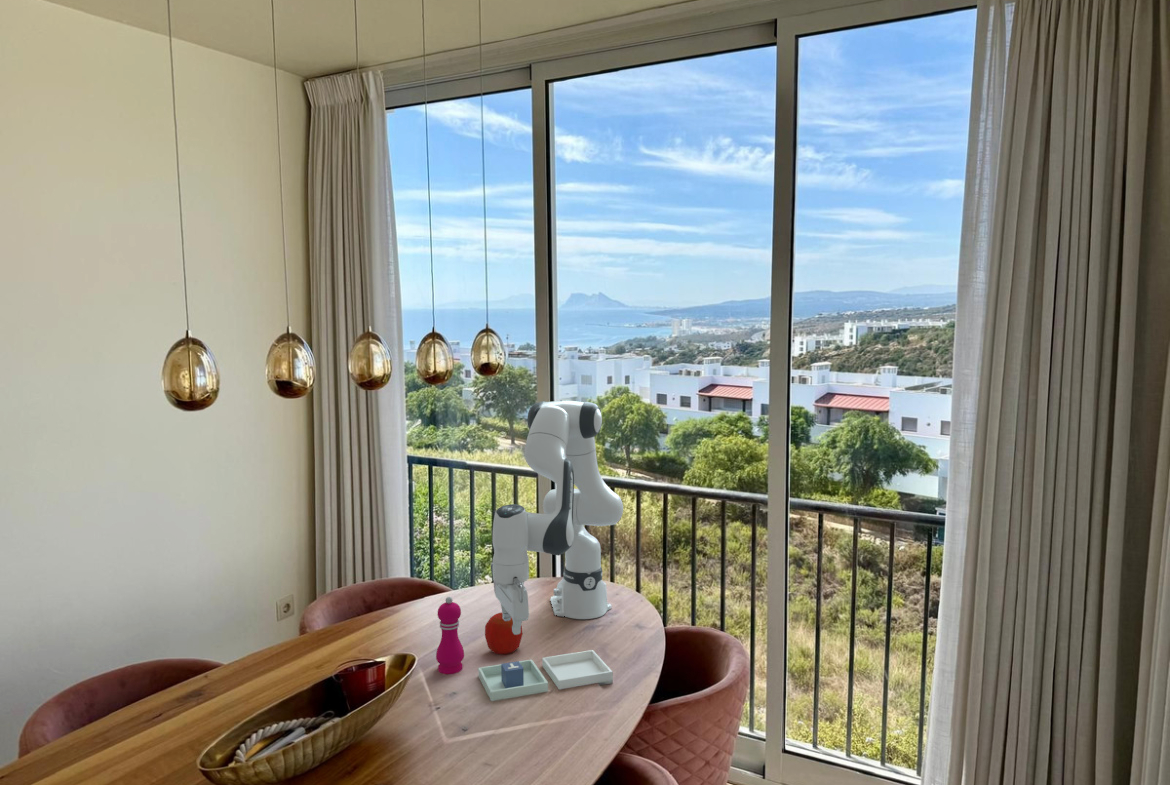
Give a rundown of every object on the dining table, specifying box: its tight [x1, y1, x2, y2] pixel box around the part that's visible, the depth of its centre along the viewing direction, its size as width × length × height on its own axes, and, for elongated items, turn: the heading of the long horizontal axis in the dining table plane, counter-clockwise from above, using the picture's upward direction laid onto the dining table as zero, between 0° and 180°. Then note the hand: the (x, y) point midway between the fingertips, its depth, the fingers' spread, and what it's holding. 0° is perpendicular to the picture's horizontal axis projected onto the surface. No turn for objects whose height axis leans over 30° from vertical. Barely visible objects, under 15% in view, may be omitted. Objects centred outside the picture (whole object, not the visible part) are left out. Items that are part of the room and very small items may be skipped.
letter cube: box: [500, 660, 524, 688], centre depth 194 cm, size 4×4×5 cm
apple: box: [484, 612, 524, 655], centre depth 214 cm, size 10×10×12 cm
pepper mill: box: [435, 596, 465, 675], centre depth 202 cm, size 7×7×20 cm
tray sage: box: [477, 659, 549, 702], centre depth 194 cm, size 14×14×3 cm
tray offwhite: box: [541, 649, 614, 690], centre depth 200 cm, size 14×14×3 cm
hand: (511, 626), depth 193 cm, fingers open, 8 cm apart
